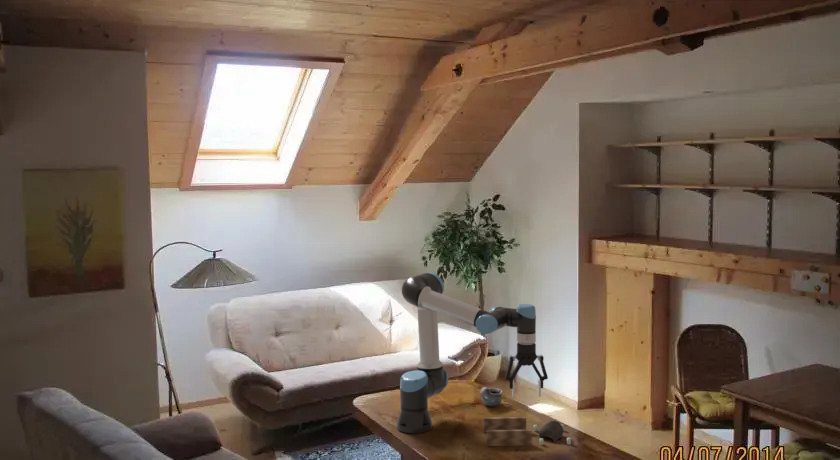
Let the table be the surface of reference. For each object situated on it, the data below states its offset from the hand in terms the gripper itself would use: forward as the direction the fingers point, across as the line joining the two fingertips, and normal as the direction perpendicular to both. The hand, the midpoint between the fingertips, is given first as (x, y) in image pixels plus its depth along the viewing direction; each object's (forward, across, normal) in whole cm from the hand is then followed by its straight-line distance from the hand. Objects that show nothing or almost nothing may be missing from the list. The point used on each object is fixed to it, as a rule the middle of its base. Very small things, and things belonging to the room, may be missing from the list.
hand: (526, 396), depth 307 cm
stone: (+18, +10, 0) cm, 21 cm away
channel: (+18, -8, 0) cm, 19 cm away
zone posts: (+18, +10, 0) cm, 21 cm away
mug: (+18, -11, +39) cm, 45 cm away
